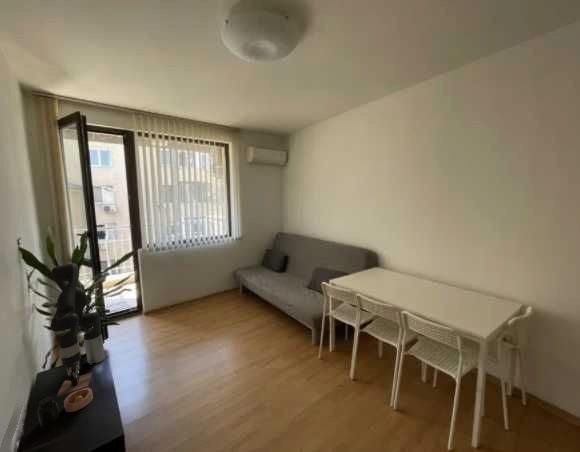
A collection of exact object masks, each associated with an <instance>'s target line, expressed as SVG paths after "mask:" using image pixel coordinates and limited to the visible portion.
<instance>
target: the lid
mask: <svg viewBox="0 0 580 452" xmlns="http://www.w3.org/2000/svg"><path fill="white" fill-rule="evenodd" d="M93 374H94V373H93V371H91V372H88V373H86V374H82V375H79V379H78V374H76V375H77V381H78V384H77V385H75V386H72V383H71V381H69V380H68V379H67V380H64V381H63V382H62V384H61V386H60V389H59V390H58V392H57V394H56V396H55V397H56V399H58V398H60V397H64V396H66V395H67V396H68V395H70V394H72V393H73V392H76V391H79V390H81V389H84V388H89V383H90V382H91V378H92V376H93Z"/></svg>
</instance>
